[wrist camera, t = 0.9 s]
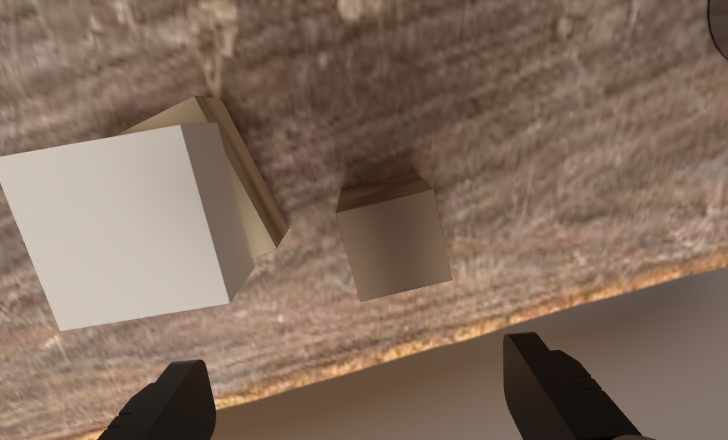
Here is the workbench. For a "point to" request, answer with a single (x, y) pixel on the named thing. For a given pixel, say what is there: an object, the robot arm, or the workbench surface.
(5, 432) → the workbench surface
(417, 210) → the walnut block
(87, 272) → the top block
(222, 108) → the bottom block
